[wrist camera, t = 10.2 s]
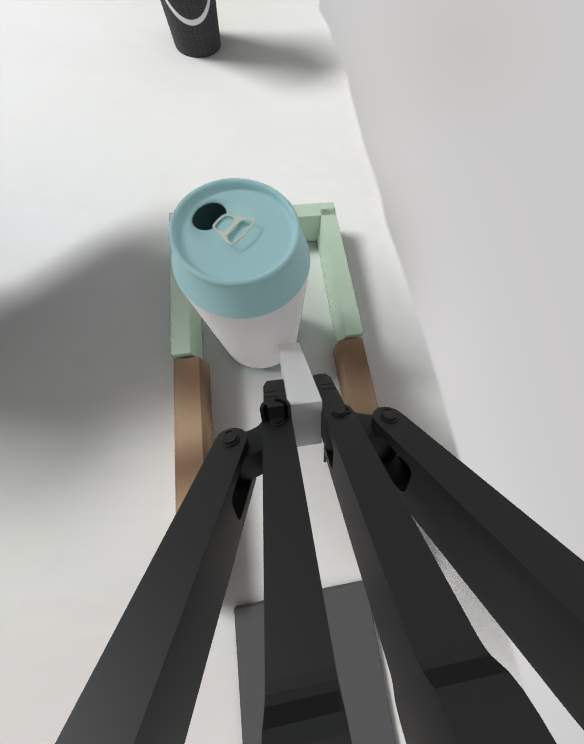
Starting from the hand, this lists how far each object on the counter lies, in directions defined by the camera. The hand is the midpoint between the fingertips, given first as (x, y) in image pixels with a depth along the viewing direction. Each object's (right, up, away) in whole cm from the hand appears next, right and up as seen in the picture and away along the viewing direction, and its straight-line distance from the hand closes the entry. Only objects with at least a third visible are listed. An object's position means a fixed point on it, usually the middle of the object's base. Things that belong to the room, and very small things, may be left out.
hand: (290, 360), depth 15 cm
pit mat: (+1, -22, 0) cm, 23 cm away
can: (-3, +3, +6) cm, 7 cm away
